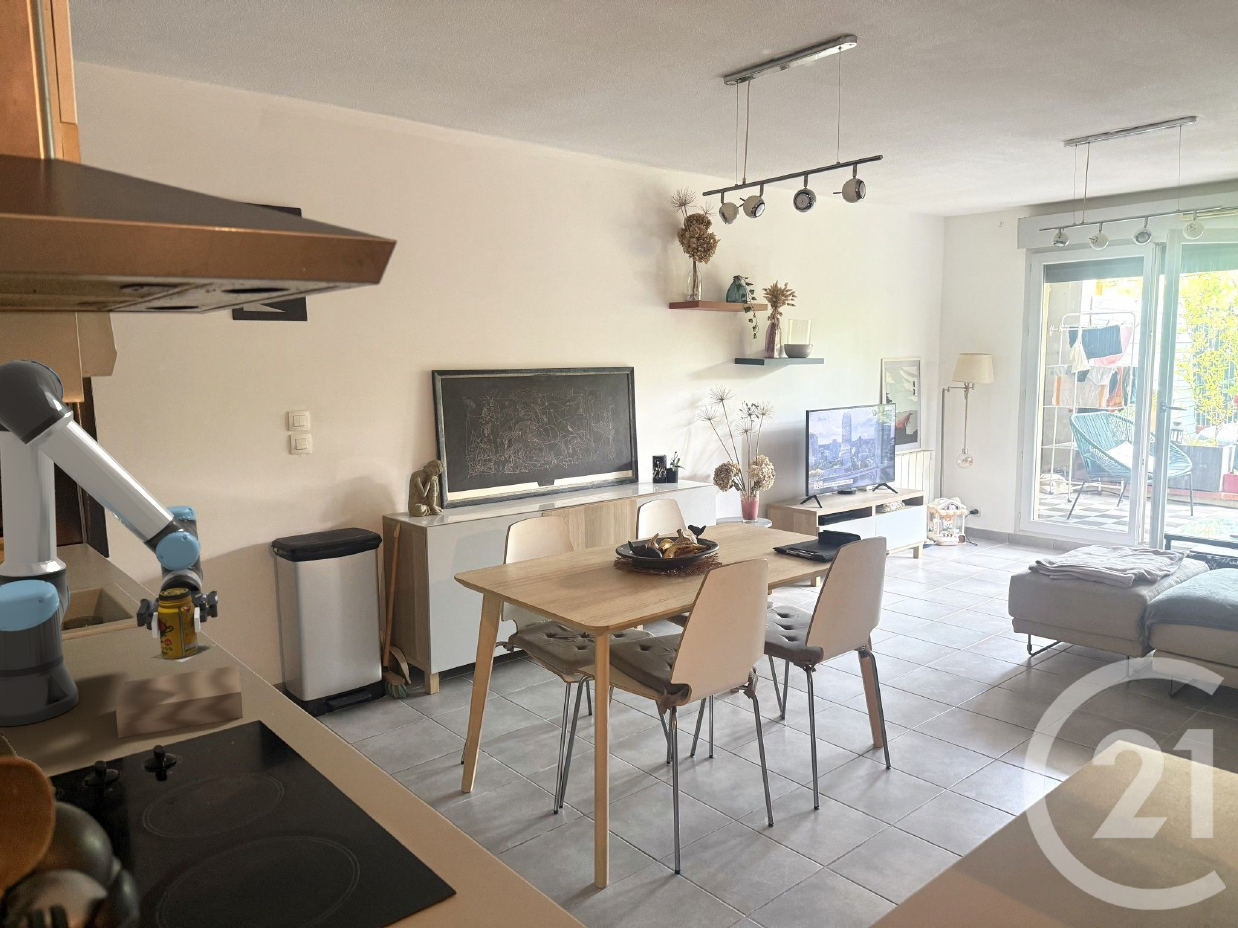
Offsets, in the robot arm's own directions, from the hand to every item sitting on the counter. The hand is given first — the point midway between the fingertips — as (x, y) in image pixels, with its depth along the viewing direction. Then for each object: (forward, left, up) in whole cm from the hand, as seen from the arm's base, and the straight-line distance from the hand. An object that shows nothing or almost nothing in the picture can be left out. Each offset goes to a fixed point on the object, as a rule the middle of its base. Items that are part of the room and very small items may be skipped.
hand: (176, 627), depth 155 cm
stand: (0, +5, -18) cm, 19 cm away
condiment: (+1, +5, -7) cm, 8 cm away
